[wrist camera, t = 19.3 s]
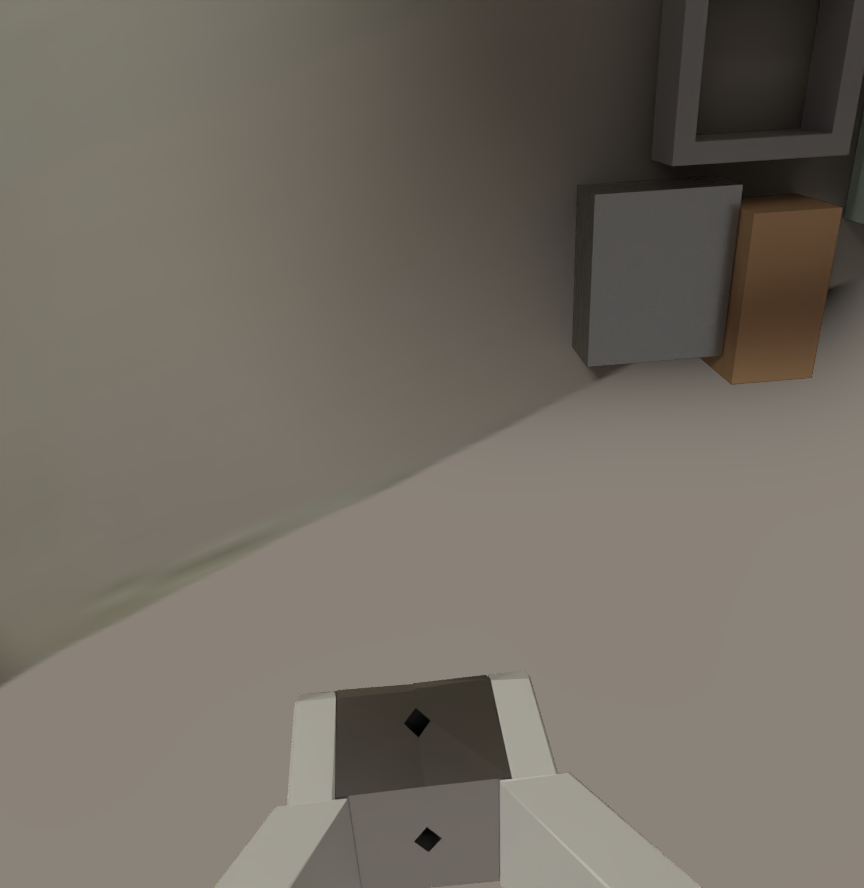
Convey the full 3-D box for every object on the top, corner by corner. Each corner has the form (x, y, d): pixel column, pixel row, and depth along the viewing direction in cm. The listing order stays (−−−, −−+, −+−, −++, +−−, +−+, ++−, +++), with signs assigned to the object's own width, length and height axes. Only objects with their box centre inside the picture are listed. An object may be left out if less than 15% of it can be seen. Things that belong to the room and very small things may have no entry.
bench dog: (715, 199, 28) (754, 213, 25) (795, 193, 28) (842, 207, 25) (698, 356, 31) (731, 384, 28) (771, 350, 31) (811, 378, 28)
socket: (665, -43, 24) (690, -51, 23) (848, -51, 25) (887, -60, 23) (651, 159, 27) (672, 166, 25) (816, 148, 28) (848, 154, 26)
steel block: (574, 183, 28) (594, 195, 25) (711, 174, 28) (743, 184, 26) (569, 344, 30) (587, 366, 28) (694, 333, 31) (721, 355, 28)
